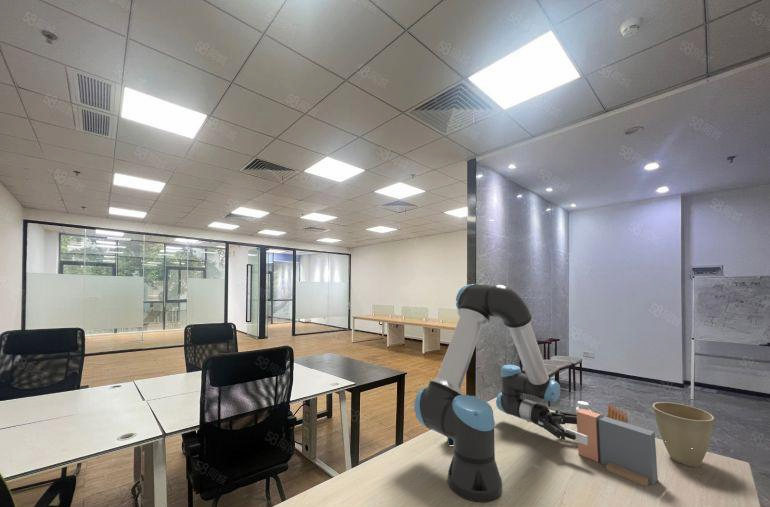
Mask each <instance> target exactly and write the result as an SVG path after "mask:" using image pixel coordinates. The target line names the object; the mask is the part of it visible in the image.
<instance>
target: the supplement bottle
mask: <svg viewBox="0 0 770 507" xmlns="http://www.w3.org/2000/svg"><path fill="white" fill-rule="evenodd" d="M580 409H585V410H588V411H591V412H592V410H591V409H590V404H589V403H588V402H587V401H583V400H578V401H577V406H576V407H575V414H577V412H576V411H578V410H580ZM575 425H576V427H577V424H575Z"/></svg>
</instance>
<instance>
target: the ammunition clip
mask: <svg viewBox="0 0 770 507" xmlns="http://www.w3.org/2000/svg"><path fill="white" fill-rule="evenodd" d="M606 415H607V416H606V417H608V418H611V419H615V420H618V421H621V422H625V423H628V424H629V421H628V420H629V419H628V414H627V413H626V411H625V412H624V411H623V410H620V408H617V406H614V405H613V404H611V403H610V402H608V403H607V413H606Z"/></svg>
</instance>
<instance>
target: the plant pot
mask: <svg viewBox="0 0 770 507" xmlns="http://www.w3.org/2000/svg"><path fill="white" fill-rule="evenodd" d="M652 408H653V413H654V417H655V421H656V425H657V428H658V431H659V435H660V437H661V439H662V442H663V444H664V447H665V449H666V451H667V453H668V455H669V457H670V459H672V460H673V461H674V462H678V463H679V464H682V465H685V466H688V467H695V468H697V467H700V466H701V465H702V463H703V461H704V458H705V456H706V455H707V454H706V453H707V451H708V450H709V449H708V448H709V445H710V442H711V438H712V434H713V433H712V432H713V428H714V420H715V418H714V416H713V415H712V414H711V413H710V412H707V411H705V410H704V409H700V408H698V407H694V406H692V405H687V404H683V403H682V404H681V403H676V402H668V401H667V402H666V401H662V402H661V401H659V402H654V403H653V404H652ZM665 441H666V442H665ZM691 448H693V449H691Z"/></svg>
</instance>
